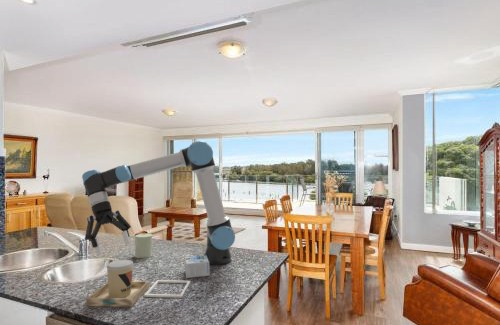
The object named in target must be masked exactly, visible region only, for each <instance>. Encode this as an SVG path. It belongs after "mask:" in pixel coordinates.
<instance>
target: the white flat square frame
mask: <svg viewBox="0 0 500 325" xmlns="http://www.w3.org/2000/svg"><path fill="white" fill-rule="evenodd" d="M161 283H162V284H186V285H185V286H184V288H183V289H182V291H181V293H180V294H169V293H168V294H166V293H165V294H164V293H163V294H162V293H161V294H160V293H151V292H152V291H153V290H154V289H155V287H156V286H157V285H158V284H161ZM190 284H191V280H180V279H179V280H171V279H170V280H169V279H168V280H167V279H157V280H156V281H155V282H154V283H153V284H152V286H151V287H150V288H148V289H147V290H146V291H145V292H144V294H143V296H144V298H176V299H178V298H179V299H180V298H183V297H184V295H185V293H186V292H187V289H188V288H189V286H190Z"/></svg>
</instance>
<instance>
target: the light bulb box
mask: <svg viewBox="0 0 500 325" xmlns="http://www.w3.org/2000/svg"><path fill="white" fill-rule="evenodd" d="M184 272H185V278H186V279H188V278H189V279H192V278H199V277H200V278H201V277H209V276H210V274H211V273H210V264H209V261H208V258H207V256H204V255H197V256H185V257H184Z"/></svg>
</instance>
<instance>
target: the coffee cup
mask: <svg viewBox="0 0 500 325" xmlns="http://www.w3.org/2000/svg"><path fill="white" fill-rule="evenodd" d="M106 269H107V282H108V288H109V297H110V298H123V297H126V296H128V295H130V293H131V285H132V281H133V269H134V261H133V260H130V259H119V260H118V259H117V260H114V261H111V262H109V263H108V264H107V266H106Z"/></svg>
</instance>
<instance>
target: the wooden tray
mask: <svg viewBox="0 0 500 325" xmlns="http://www.w3.org/2000/svg"><path fill="white" fill-rule="evenodd" d="M149 285H150V281H147V280H145V281H144V280H143V281H142V280H132V285H131V293H130V295H128V296H126V297H123V298H110V297H109V288H108V281H107V282H106V283H105V284H103V285H102V286H101V287H99V288H98V289H97V290H96V291H94V292H93V293H91V294H90V295H89V296H88V297H87V298H86V299H85V300H86V307H124V308H125V307H126V308H127V307H131V308H132V307H133V306H134V305H135V303H136V302H137V301H138V300H139V299H140V298H141V297H142V296H144V294H145V293H146V292H147V291H148V290H149V289H150V288H149V287H150V286H149Z"/></svg>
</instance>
